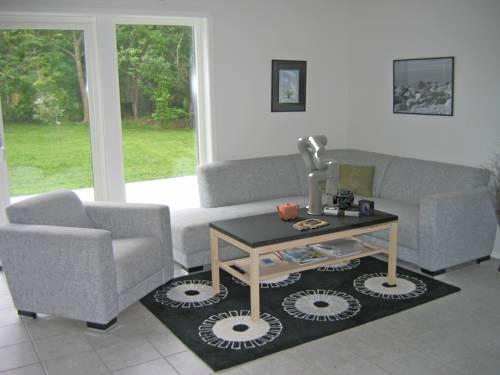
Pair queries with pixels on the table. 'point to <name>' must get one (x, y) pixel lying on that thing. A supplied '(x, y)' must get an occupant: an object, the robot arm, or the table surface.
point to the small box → (366, 207)
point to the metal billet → (331, 200)
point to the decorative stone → (345, 199)
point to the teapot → (288, 211)
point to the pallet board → (314, 223)
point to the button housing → (300, 227)
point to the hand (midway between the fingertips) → (332, 203)
